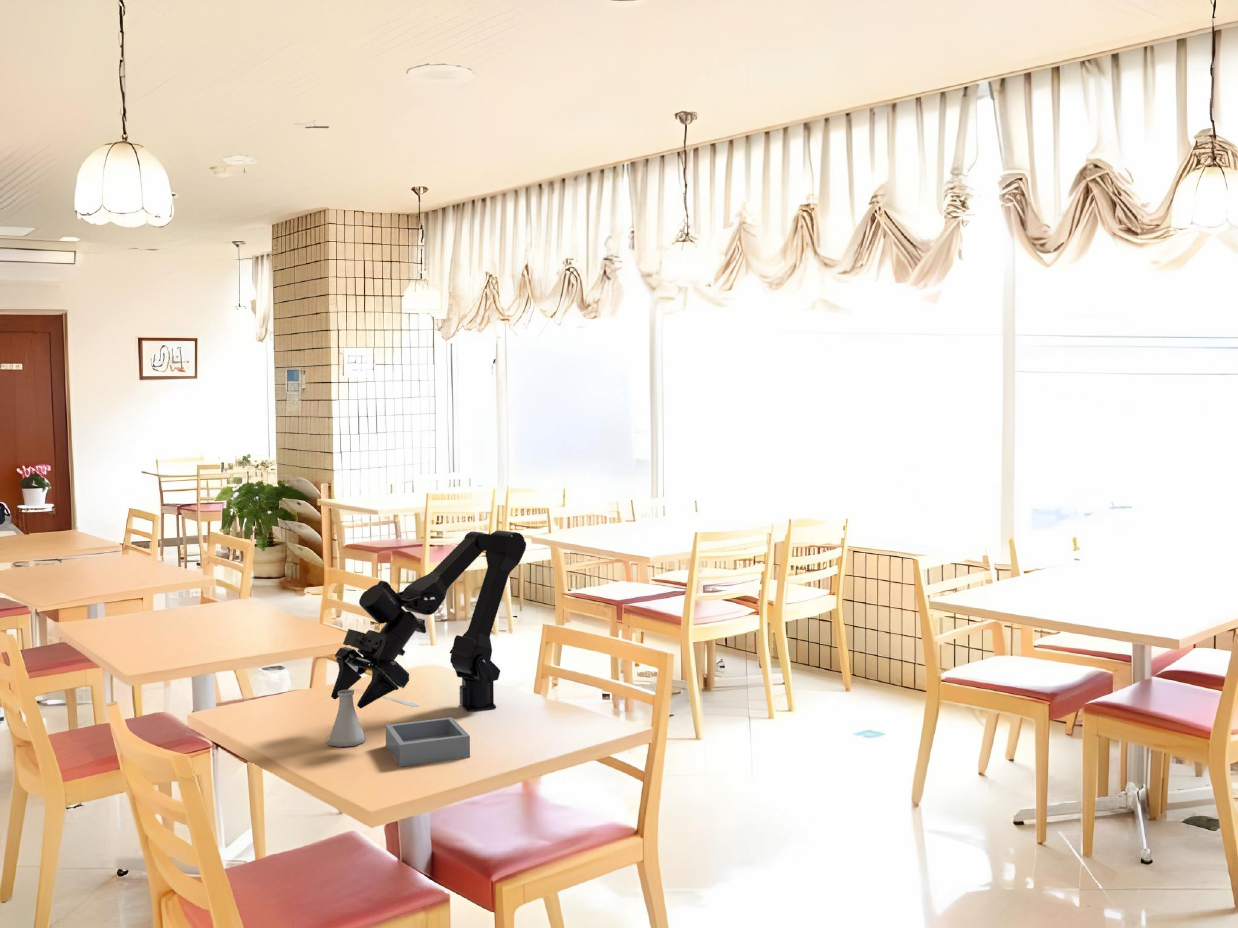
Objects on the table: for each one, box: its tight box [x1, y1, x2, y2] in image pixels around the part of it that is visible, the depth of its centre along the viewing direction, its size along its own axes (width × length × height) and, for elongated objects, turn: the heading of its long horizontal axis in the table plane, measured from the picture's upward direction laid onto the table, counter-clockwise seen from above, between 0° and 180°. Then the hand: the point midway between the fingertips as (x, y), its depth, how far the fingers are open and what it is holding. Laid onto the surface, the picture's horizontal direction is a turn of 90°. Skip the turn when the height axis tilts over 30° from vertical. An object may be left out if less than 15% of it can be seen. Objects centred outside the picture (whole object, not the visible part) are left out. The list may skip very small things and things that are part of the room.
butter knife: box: [381, 695, 420, 708], centre depth 237 cm, size 1×27×3 cm
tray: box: [385, 716, 471, 768], centre depth 198 cm, size 13×13×4 cm
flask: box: [327, 689, 366, 748], centre depth 204 cm, size 7×7×10 cm
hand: (345, 702), depth 204 cm, fingers open, 9 cm apart
